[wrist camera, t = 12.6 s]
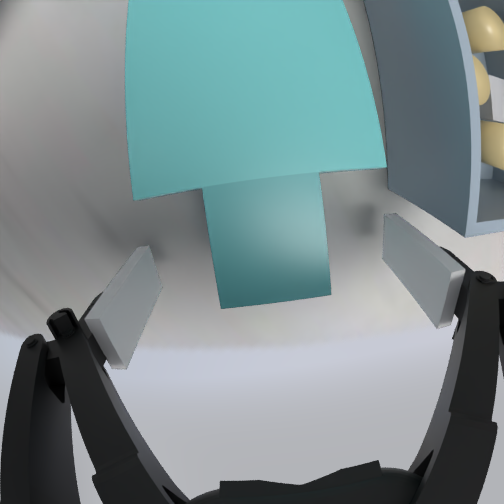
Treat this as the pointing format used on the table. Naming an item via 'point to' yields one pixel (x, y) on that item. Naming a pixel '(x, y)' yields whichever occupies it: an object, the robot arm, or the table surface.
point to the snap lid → (250, 129)
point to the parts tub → (444, 106)
